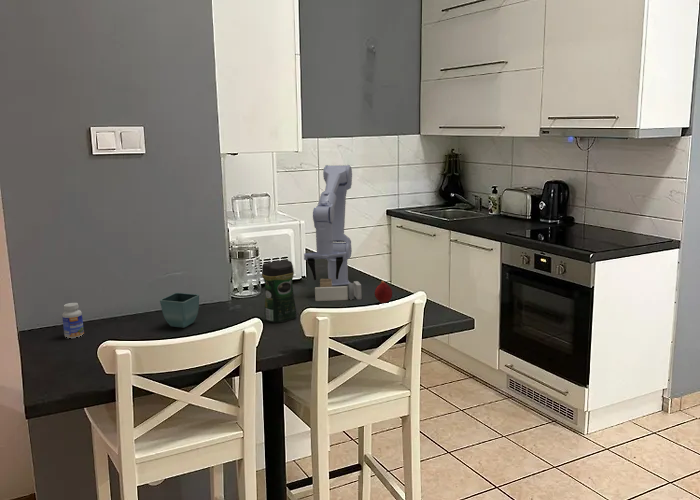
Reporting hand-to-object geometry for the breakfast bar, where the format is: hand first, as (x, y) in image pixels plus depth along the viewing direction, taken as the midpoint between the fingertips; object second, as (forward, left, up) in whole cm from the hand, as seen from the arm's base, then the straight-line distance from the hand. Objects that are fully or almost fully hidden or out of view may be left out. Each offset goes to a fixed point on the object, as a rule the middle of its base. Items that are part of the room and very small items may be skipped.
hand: (326, 278), depth 229 cm
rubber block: (0, 0, -6) cm, 6 cm away
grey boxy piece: (+5, +9, -6) cm, 12 cm away
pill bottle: (+20, -80, -6) cm, 82 cm away
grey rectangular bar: (+6, +1, -6) cm, 8 cm away
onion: (+16, +16, -6) cm, 24 cm away
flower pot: (+19, -49, -6) cm, 53 cm away
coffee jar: (+22, -19, -6) cm, 30 cm away
